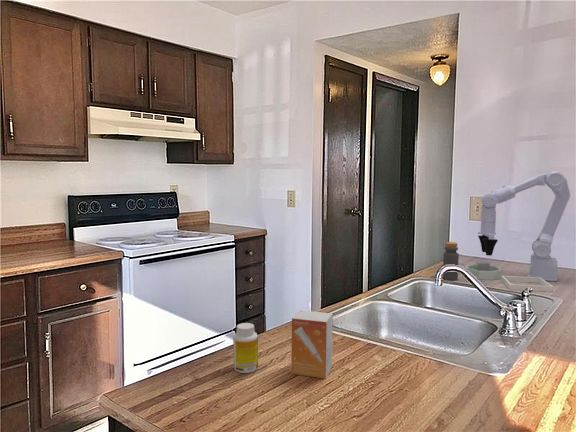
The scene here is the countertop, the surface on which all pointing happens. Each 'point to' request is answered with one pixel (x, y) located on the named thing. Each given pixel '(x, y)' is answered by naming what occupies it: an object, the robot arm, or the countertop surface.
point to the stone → (482, 266)
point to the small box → (312, 343)
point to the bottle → (451, 260)
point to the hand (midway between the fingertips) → (486, 253)
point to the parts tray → (545, 287)
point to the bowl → (485, 272)
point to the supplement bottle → (245, 348)
